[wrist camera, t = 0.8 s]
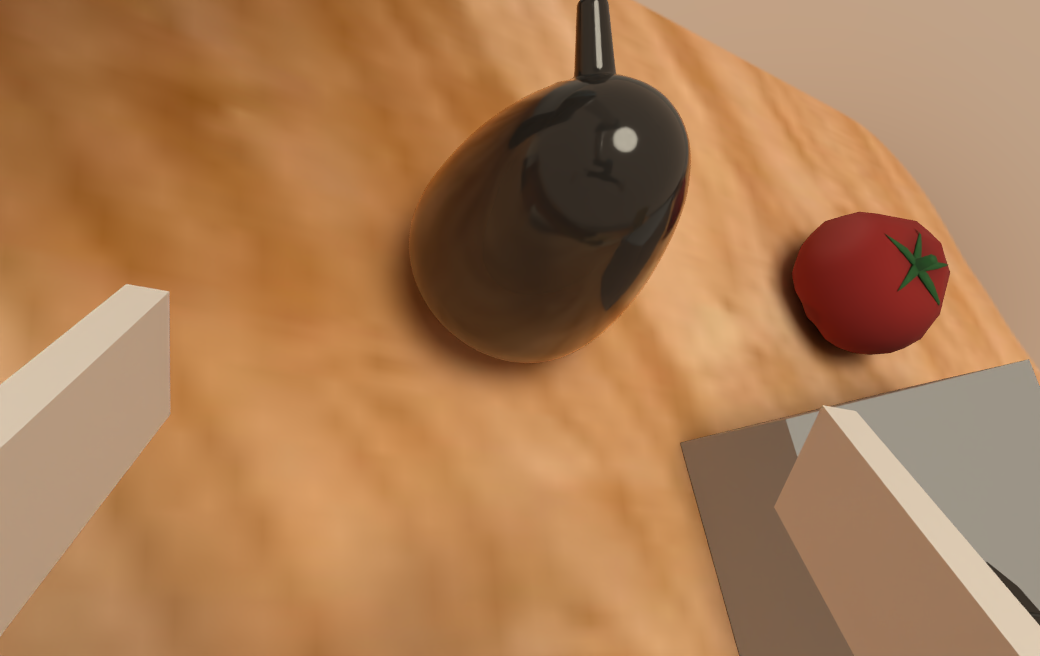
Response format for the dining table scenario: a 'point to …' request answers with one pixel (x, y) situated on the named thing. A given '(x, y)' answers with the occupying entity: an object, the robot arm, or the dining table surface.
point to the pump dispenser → (553, 209)
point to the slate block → (924, 454)
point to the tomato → (871, 281)
